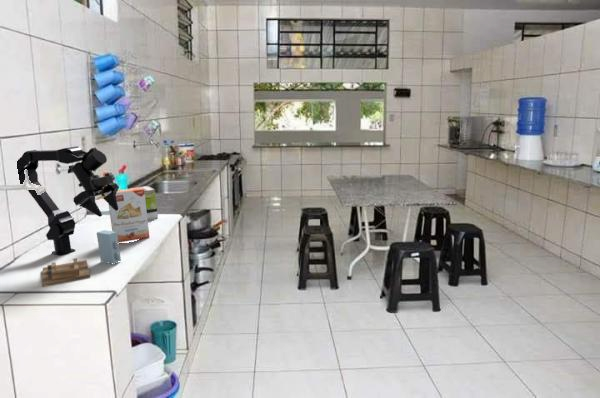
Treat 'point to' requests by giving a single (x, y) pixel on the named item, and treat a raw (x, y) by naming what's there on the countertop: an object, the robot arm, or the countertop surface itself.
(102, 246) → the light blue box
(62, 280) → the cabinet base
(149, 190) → the tea box
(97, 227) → the countertop surface
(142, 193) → the cracker box
